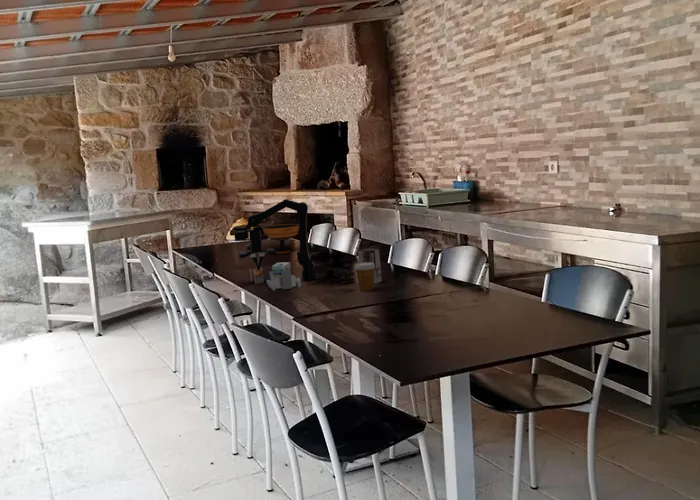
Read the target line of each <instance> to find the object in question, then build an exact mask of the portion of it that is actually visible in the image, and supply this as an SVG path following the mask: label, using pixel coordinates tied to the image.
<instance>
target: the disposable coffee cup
mask: <svg viewBox="0 0 700 500" xmlns="http://www.w3.org/2000/svg"><path fill="white" fill-rule="evenodd" d="M354 268H355V271H356V276H357V283H358V286H359V291H361V292H362V291H363V292H364V291H365V292H366V291H367V292H368V291H372V290H374V285H375V283H374V269H375V264H374V263H372V262H363V263H359V262H358V263H356V264H355V265H354Z"/></svg>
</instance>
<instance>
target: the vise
mask: <svg viewBox="0 0 700 500" xmlns="http://www.w3.org/2000/svg"><path fill="white" fill-rule="evenodd" d="M260 269H262V271H263V272H264V270H263V269H264V268H263V267H260ZM249 274H250V282H253V279H254V284H263V283H264V280H265V279H264V275H263V276H256V277H255V276H254V275H253V270H252V268H249ZM265 281H266V285H267V286H268V287H269V288H270V290H272V291H273V292H274V291H276V288H275V286H274V285H270V283H269V281H273V274H272V270H271V271H269V279H266V280H265ZM295 287H297V288H302V284H301V282H296V286H295Z"/></svg>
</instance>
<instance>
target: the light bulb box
mask: <svg viewBox="0 0 700 500" xmlns="http://www.w3.org/2000/svg"><path fill="white" fill-rule="evenodd" d="M283 270H291V262H290V261H289V262H286V261H284V262H279V261H278V262H276V263H275V264H273V265H272V266H271V271H272V274H273V281H274V277H281V276H282V274H281V271H283ZM274 286H275V285H274Z"/></svg>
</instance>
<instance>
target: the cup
mask: <svg viewBox="0 0 700 500" xmlns="http://www.w3.org/2000/svg"><path fill="white" fill-rule="evenodd" d="M262 227H263V228H264V230H262V232H263V233H261V237H263V238H268V239H270V240H273V241H279V250H276V254H283V253H289V252H291V251H292V250H291V249H287V247H286V245H285V241H287V240H290V239H292V238H294V237H295V236H297V235H299V223H282V224H272V225H271V224H270V225H266V226H262ZM306 229H308V226H307V225H306Z"/></svg>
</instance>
